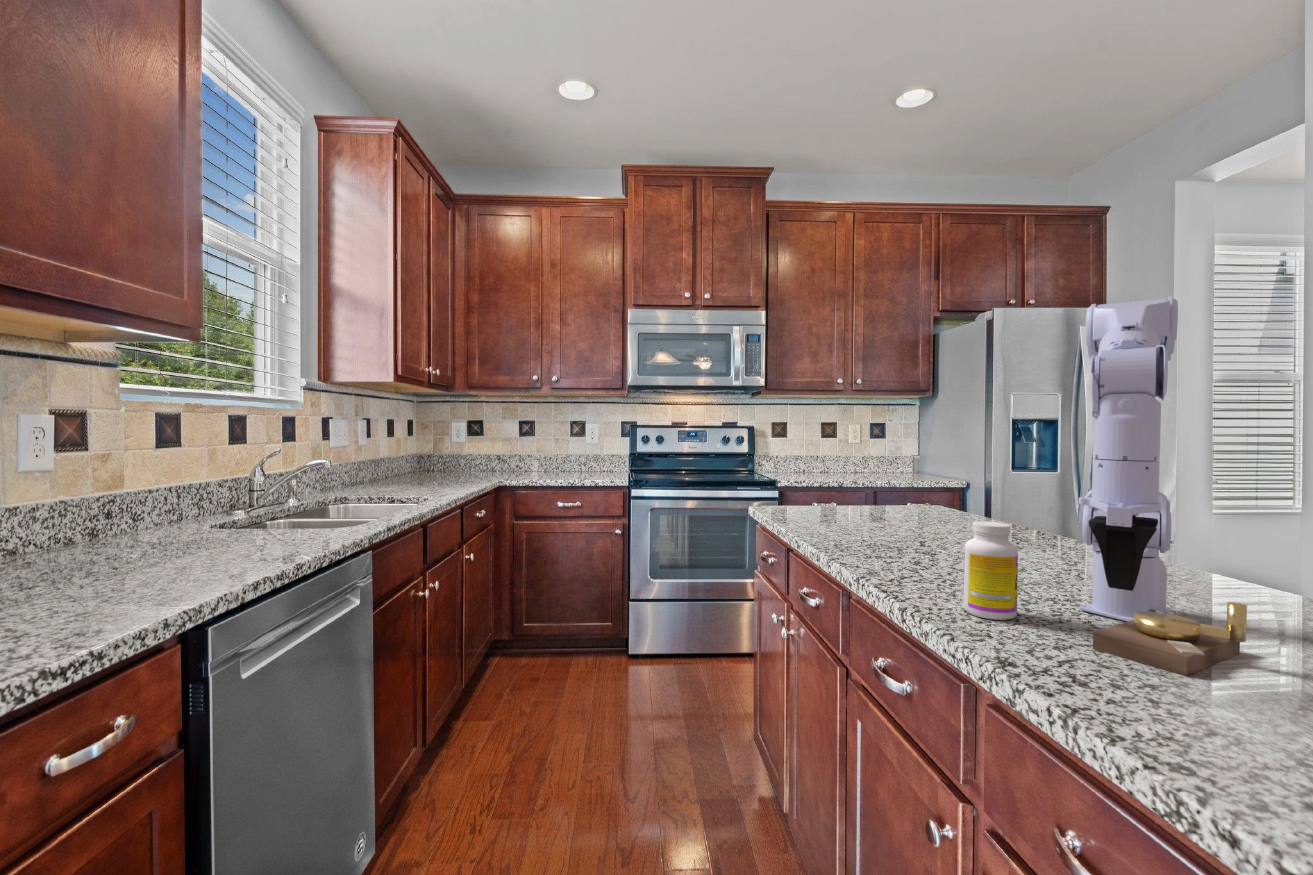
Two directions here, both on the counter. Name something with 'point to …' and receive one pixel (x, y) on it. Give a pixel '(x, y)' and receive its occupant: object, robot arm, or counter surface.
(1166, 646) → the stand
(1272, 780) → the counter surface
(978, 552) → the supplement bottle
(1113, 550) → the robot arm
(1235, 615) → the gold door handle
